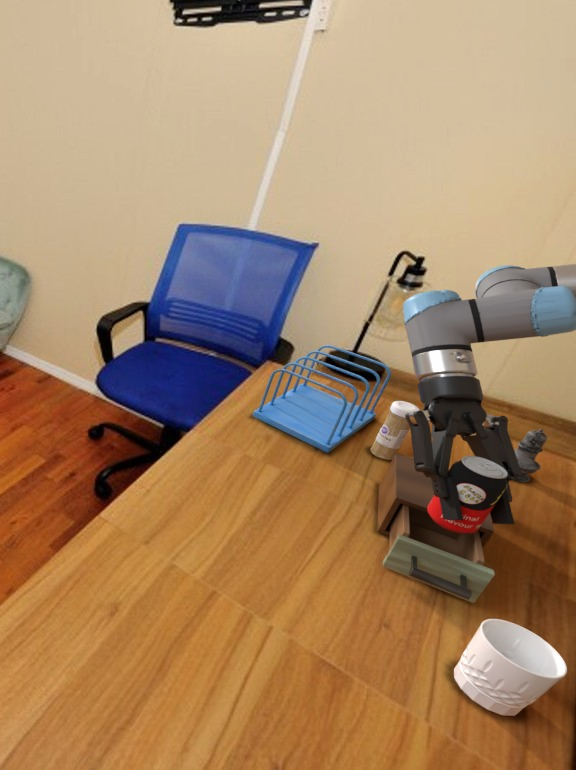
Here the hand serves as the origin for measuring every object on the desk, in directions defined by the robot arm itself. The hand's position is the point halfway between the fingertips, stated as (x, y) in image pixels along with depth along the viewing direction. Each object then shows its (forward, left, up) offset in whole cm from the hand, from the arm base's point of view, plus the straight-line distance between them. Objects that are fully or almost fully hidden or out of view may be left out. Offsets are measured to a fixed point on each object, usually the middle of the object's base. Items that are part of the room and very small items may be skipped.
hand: (478, 521), depth 79 cm
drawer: (+2, -2, -14) cm, 14 cm away
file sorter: (+22, -44, -15) cm, 51 cm away
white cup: (-4, +18, -15) cm, 24 cm away
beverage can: (+2, -3, -4) cm, 5 cm away
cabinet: (+2, -16, -15) cm, 21 cm away
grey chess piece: (-14, -46, -15) cm, 50 cm away
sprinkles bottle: (+8, -37, -15) cm, 40 cm away
